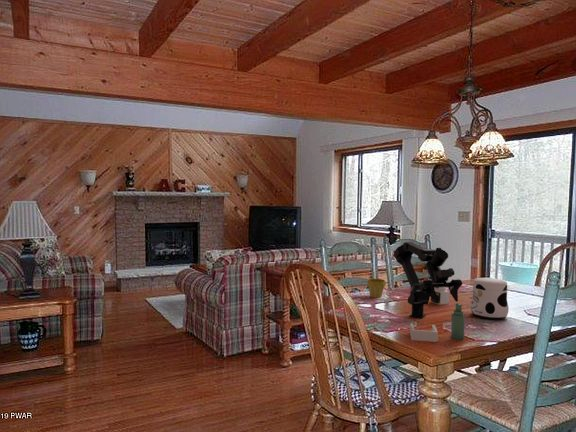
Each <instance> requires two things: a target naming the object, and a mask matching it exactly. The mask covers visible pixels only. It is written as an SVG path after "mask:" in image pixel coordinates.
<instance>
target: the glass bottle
mask: <svg viewBox="0 0 576 432" xmlns="http://www.w3.org/2000/svg"><path fill="white" fill-rule="evenodd" d="M462 306H463V305H462V303H455V309H454V310H453V312H452V313H451V325H450V327H451V328H450V338H451V339H452V340H455V341H456V340H457V341H463V340H465V326H466V325H465V321H466V320H465V319H466V315H465V314H464V311H463V310H462V309H463V307H462Z"/></svg>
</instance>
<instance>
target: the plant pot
mask: <svg viewBox="0 0 576 432" xmlns="http://www.w3.org/2000/svg"><path fill="white" fill-rule="evenodd" d="M366 283H367V286H368V291H369V296H370V298H376V299H379V298H382V297H383V292H384V289H385V287H386V280H385V279H381V278H368V279H367V282H366Z"/></svg>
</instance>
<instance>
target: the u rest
mask: <svg viewBox="0 0 576 432" xmlns="http://www.w3.org/2000/svg"><path fill="white" fill-rule="evenodd" d="M409 334H410V339H411V341H419V342H421V341H422V342H430V343H431V342H432V343H433V342H434V343H439V342H438V339H439V336H438V335H439V332H438V330H437V326H436V325H435V324H432V325H431V330H423V329H415V327H414V323H412V322H411V323H409Z"/></svg>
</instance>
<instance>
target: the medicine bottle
mask: <svg viewBox="0 0 576 432" xmlns="http://www.w3.org/2000/svg"><path fill="white" fill-rule="evenodd" d="M434 288H435V292H436V294H437V297H438V299H439V302H438V303H437V302H436V301H435V300H434V299H433V298H431V297H430V303H433V304H436V305H439V306H443V305H449V304H450V290H447V287H434Z"/></svg>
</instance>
